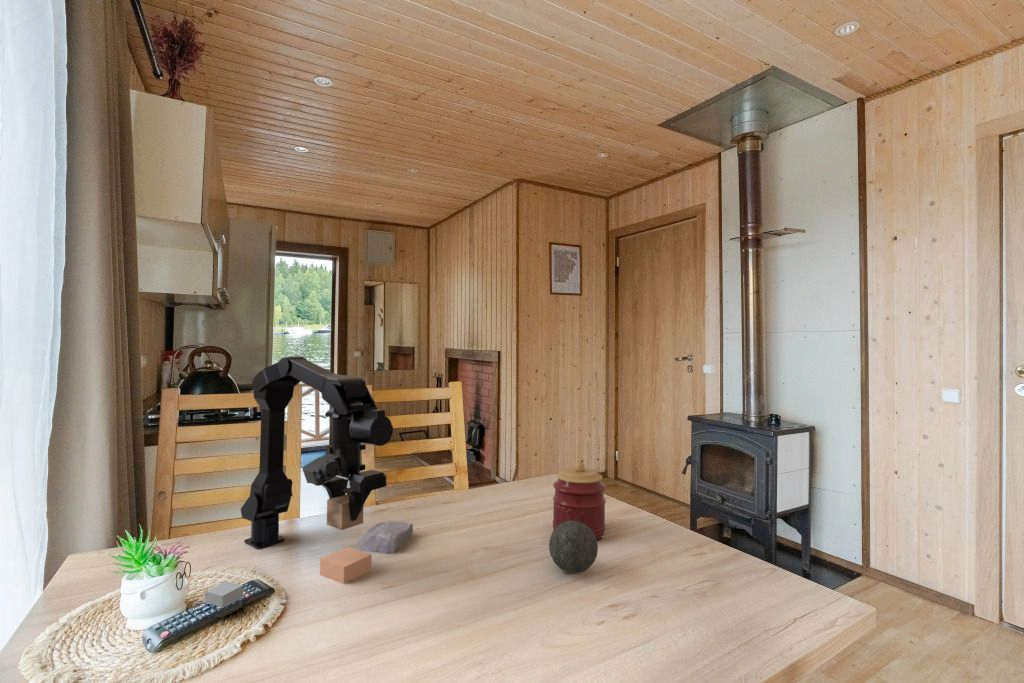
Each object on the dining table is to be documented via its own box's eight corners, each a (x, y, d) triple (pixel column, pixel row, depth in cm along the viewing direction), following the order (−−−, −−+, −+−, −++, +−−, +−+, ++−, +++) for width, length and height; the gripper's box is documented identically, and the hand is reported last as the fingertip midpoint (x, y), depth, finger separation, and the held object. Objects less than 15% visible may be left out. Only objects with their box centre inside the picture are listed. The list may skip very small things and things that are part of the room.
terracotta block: (319, 576, 99) (319, 558, 99) (347, 563, 105) (347, 546, 105) (343, 585, 96) (344, 567, 96) (371, 571, 102) (371, 554, 102)
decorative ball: (538, 570, 102) (539, 522, 103) (567, 556, 110) (568, 510, 110) (578, 587, 96) (579, 535, 96) (607, 570, 103) (607, 522, 103)
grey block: (204, 615, 84) (205, 591, 84) (225, 603, 88) (226, 581, 88) (222, 620, 83) (222, 596, 83) (242, 608, 87) (243, 585, 87)
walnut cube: (326, 524, 100) (327, 499, 100) (348, 517, 104) (348, 493, 104) (341, 530, 97) (342, 504, 97) (363, 523, 101) (363, 498, 101)
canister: (613, 530, 125) (614, 460, 125) (592, 548, 114) (593, 471, 115) (566, 520, 132) (567, 453, 132) (543, 535, 121) (543, 463, 122)
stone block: (355, 559, 111) (396, 554, 109) (352, 538, 111) (393, 532, 110) (379, 541, 123) (417, 536, 121) (376, 521, 123) (413, 516, 121)
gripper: (283, 440, 100) (282, 518, 100) (339, 453, 89) (338, 541, 88) (332, 432, 109) (331, 504, 108) (388, 443, 98) (387, 523, 97)
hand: (345, 517), depth 100 cm, fingers closed on walnut cube, 5 cm apart
